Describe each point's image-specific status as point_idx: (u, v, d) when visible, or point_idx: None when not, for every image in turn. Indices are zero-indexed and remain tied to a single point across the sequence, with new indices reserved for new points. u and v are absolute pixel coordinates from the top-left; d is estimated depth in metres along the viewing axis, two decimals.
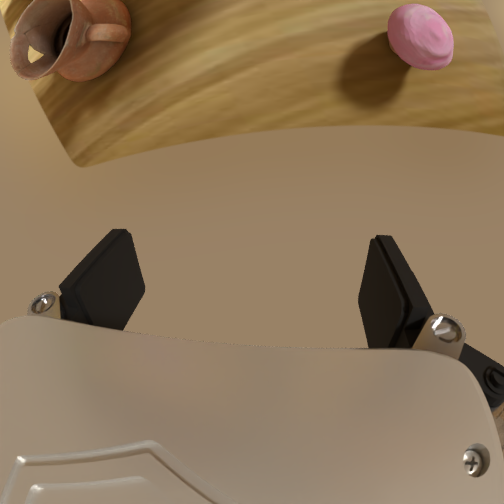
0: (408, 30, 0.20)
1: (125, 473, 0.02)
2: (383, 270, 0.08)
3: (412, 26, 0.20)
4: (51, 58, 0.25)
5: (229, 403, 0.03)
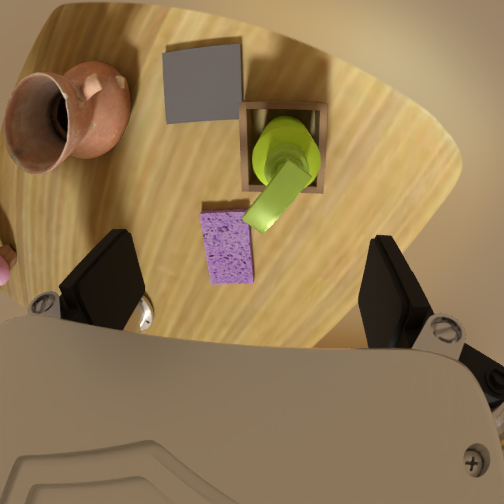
0: None
1: (125, 473, 0.02)
2: (383, 270, 0.08)
3: None
4: None
5: (229, 403, 0.03)
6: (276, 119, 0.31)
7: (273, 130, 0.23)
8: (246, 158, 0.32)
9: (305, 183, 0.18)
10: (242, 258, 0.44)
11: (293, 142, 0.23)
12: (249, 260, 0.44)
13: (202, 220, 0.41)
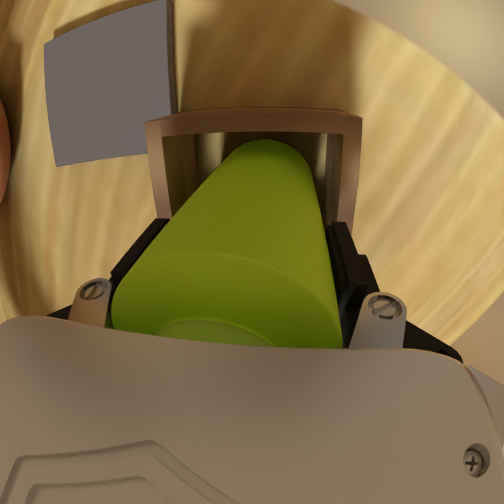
0: None
1: (125, 473, 0.02)
2: (331, 253, 0.09)
3: None
4: None
5: (229, 403, 0.03)
6: (236, 154, 0.14)
7: (154, 262, 0.06)
8: None
9: None
10: None
11: (235, 316, 0.06)
12: None
13: None
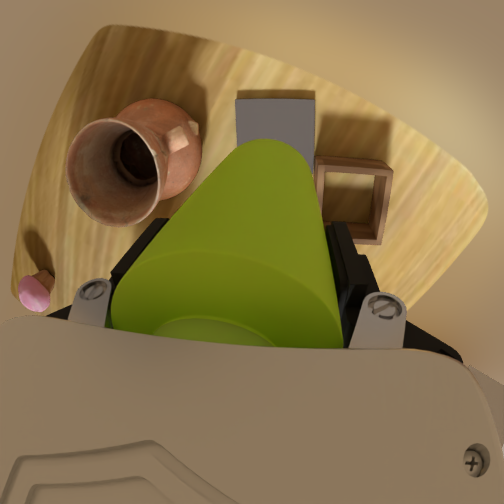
0: (28, 294, 0.47)
1: (125, 473, 0.02)
2: (331, 252, 0.09)
3: (29, 297, 0.47)
4: None
5: (228, 403, 0.03)
6: (236, 153, 0.14)
7: (153, 260, 0.06)
8: None
9: None
10: None
11: (236, 315, 0.06)
12: None
13: None
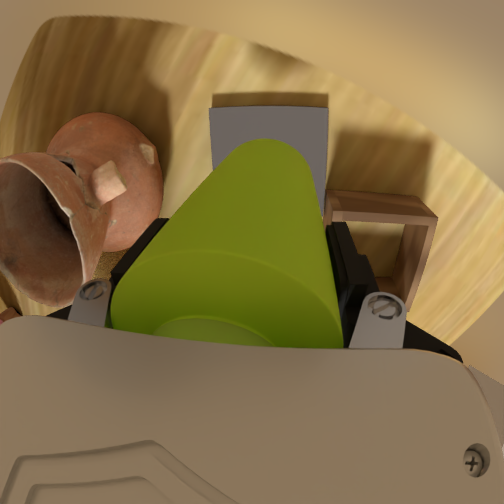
0: None
1: (125, 473, 0.02)
2: (331, 253, 0.09)
3: None
4: None
5: (228, 403, 0.03)
6: (236, 153, 0.14)
7: (153, 260, 0.06)
8: None
9: None
10: None
11: (235, 315, 0.06)
12: None
13: None
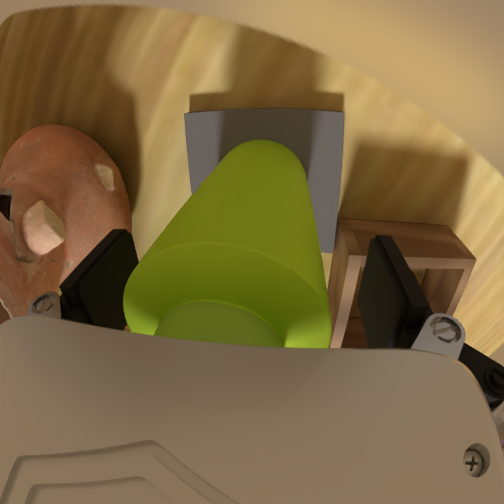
0: None
1: (125, 473, 0.02)
2: (382, 270, 0.08)
3: None
4: None
5: (229, 404, 0.03)
6: (234, 154, 0.14)
7: (165, 252, 0.06)
8: (342, 333, 0.20)
9: None
10: None
11: (236, 298, 0.07)
12: None
13: None
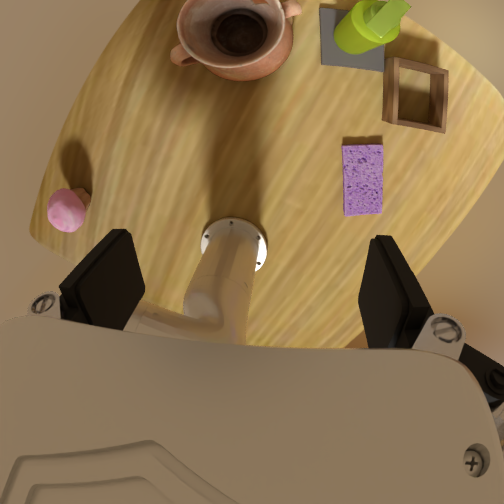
0: (61, 205, 0.44)
1: (125, 473, 0.02)
2: (383, 270, 0.08)
3: (62, 209, 0.44)
4: (241, 4, 0.27)
5: (228, 403, 0.03)
6: None
7: None
8: (397, 98, 0.34)
9: (408, 8, 0.16)
10: (375, 188, 0.45)
11: None
12: (381, 190, 0.45)
13: (345, 152, 0.43)
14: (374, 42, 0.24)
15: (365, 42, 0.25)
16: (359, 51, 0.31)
